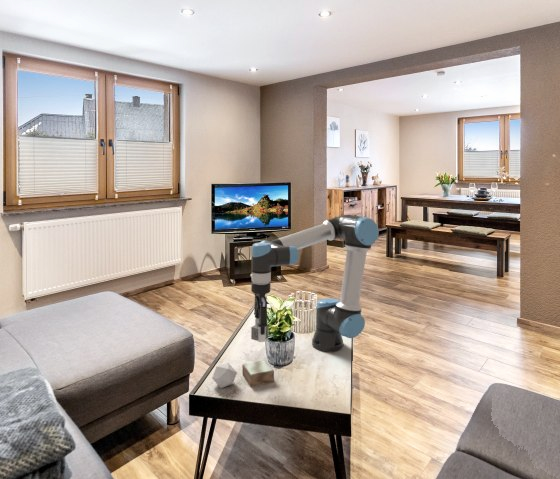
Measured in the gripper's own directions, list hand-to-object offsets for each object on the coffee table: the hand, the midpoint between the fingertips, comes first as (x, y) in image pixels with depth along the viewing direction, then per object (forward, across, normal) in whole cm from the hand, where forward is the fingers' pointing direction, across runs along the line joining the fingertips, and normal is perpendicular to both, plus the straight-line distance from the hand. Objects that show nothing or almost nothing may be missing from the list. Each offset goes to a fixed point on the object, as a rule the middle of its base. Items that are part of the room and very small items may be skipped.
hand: (260, 337), depth 160 cm
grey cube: (+1, 0, 0) cm, 1 cm away
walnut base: (+18, 0, -1) cm, 18 cm away
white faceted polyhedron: (+18, +2, -14) cm, 23 cm away
